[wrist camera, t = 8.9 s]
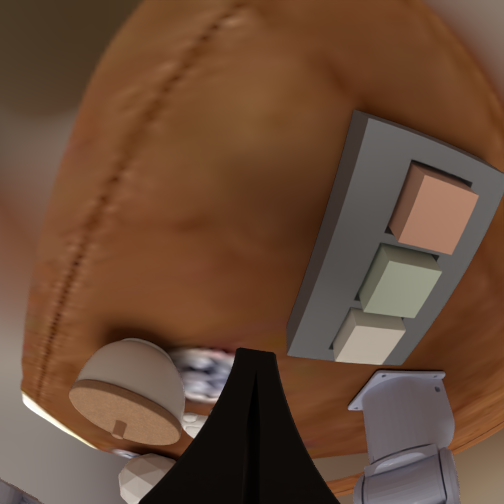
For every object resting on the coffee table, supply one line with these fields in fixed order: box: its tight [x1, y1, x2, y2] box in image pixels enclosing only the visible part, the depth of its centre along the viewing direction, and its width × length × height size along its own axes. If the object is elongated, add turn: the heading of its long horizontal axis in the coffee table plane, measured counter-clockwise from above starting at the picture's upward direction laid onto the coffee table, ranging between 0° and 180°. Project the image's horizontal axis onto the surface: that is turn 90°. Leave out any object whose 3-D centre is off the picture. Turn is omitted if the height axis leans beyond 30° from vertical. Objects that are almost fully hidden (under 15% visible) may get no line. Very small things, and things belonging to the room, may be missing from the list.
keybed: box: [287, 110, 504, 365], centre depth 19 cm, size 10×17×3 cm, turn 171°
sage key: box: [358, 242, 442, 318], centre depth 17 cm, size 4×4×3 cm
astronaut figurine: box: [182, 409, 212, 438], centre depth 35 cm, size 9×12×3 cm
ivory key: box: [332, 307, 406, 365], centre depth 20 cm, size 4×4×3 cm
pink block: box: [388, 160, 479, 255], centre depth 15 cm, size 4×4×3 cm
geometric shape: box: [119, 453, 176, 504], centre depth 44 cm, size 14×15×15 cm
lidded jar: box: [69, 338, 185, 445], centre depth 25 cm, size 11×11×9 cm
